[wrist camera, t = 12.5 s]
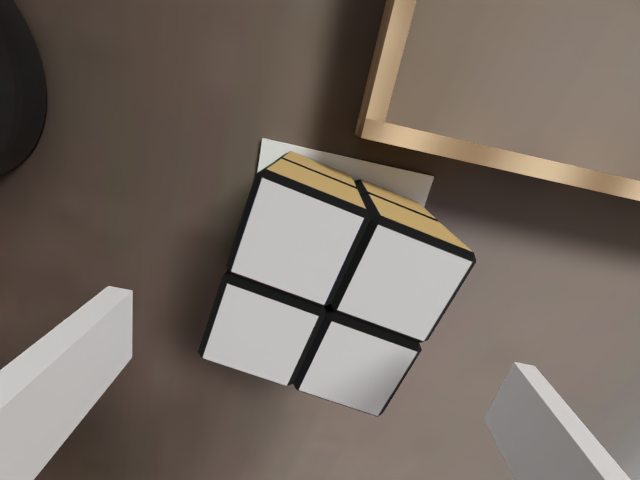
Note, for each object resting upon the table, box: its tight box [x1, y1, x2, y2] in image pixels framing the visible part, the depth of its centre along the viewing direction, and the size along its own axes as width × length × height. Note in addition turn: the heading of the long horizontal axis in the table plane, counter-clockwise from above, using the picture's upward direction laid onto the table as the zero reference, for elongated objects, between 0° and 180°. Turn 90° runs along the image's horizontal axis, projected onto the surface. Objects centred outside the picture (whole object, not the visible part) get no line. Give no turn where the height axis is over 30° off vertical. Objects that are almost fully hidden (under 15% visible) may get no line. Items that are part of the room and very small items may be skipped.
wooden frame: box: [354, 0, 640, 201], centre depth 17 cm, size 26×17×5 cm, turn 78°
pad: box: [257, 138, 434, 207], centre depth 24 cm, size 12×12×1 cm
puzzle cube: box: [198, 151, 476, 417], centre depth 19 cm, size 10×10×10 cm
